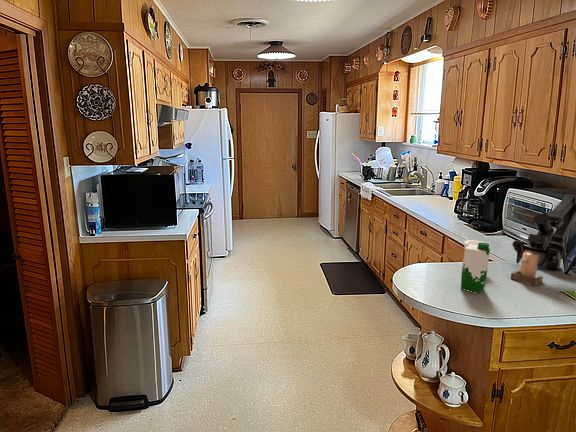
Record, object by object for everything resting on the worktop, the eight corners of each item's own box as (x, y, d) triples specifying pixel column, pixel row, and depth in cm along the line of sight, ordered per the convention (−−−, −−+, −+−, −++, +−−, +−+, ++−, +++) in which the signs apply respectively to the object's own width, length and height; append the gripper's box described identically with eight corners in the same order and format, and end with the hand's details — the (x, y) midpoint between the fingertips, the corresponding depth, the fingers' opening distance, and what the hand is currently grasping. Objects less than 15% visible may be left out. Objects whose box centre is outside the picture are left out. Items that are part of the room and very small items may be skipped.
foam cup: (470, 274, 195) (473, 246, 192) (457, 267, 204) (460, 240, 201) (488, 272, 198) (491, 245, 195) (474, 265, 206) (477, 239, 203)
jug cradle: (518, 274, 195) (519, 269, 195) (542, 281, 188) (542, 276, 187) (510, 278, 191) (511, 273, 190) (534, 285, 183) (535, 280, 183)
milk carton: (480, 295, 172) (486, 247, 168) (457, 289, 178) (463, 243, 173) (486, 289, 179) (493, 242, 174) (464, 283, 185) (469, 238, 180)
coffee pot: (546, 261, 215) (551, 232, 211) (546, 268, 205) (551, 237, 201) (498, 253, 225) (502, 225, 222) (496, 259, 215) (500, 230, 212)
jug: (523, 276, 194) (527, 250, 191) (537, 280, 189) (541, 254, 186) (513, 280, 189) (517, 254, 186) (528, 284, 184) (532, 258, 181)
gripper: (517, 222, 194) (501, 250, 190) (562, 231, 179) (547, 262, 175) (523, 236, 200) (508, 263, 196) (567, 246, 186) (552, 276, 182)
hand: (527, 266), depth 187 cm, fingers open, 9 cm apart
